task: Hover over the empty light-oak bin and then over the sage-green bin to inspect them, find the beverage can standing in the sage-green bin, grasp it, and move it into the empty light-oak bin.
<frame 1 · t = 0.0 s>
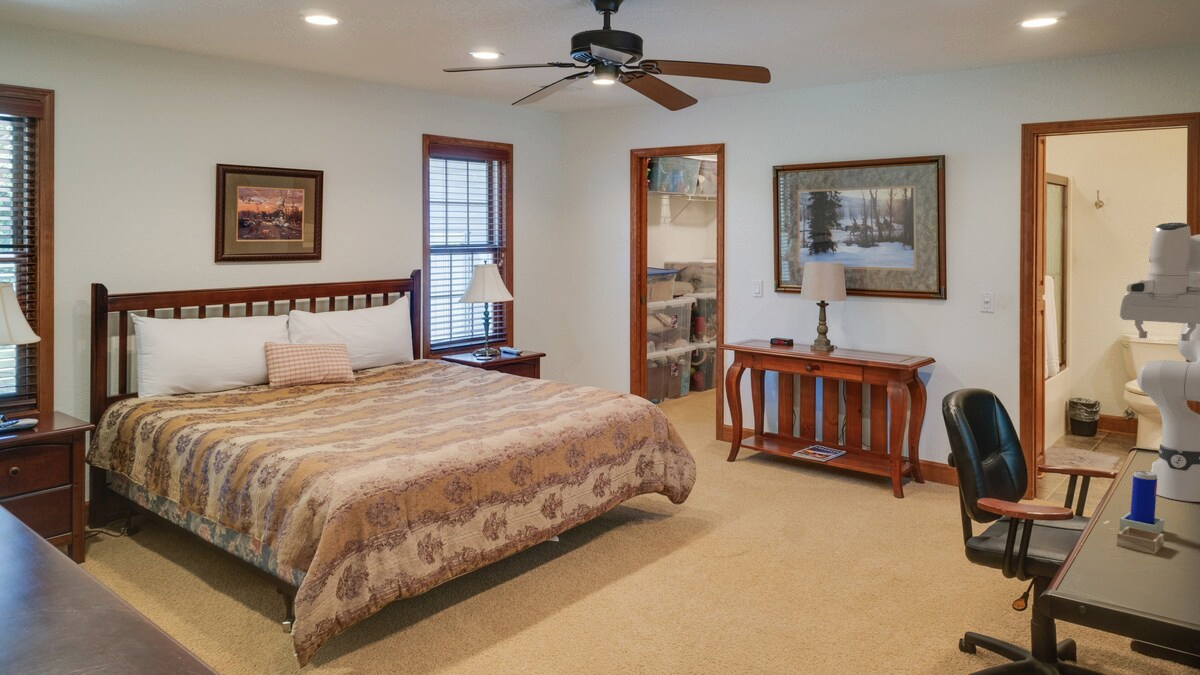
hand: (1163, 339, 218), 48 cm above the table, fingers open, 8 cm apart
bin oak: (1139, 545, 204), on the table
beverage can: (1141, 531, 215), resting in bin sage
bin sage: (1141, 530, 215), on the table
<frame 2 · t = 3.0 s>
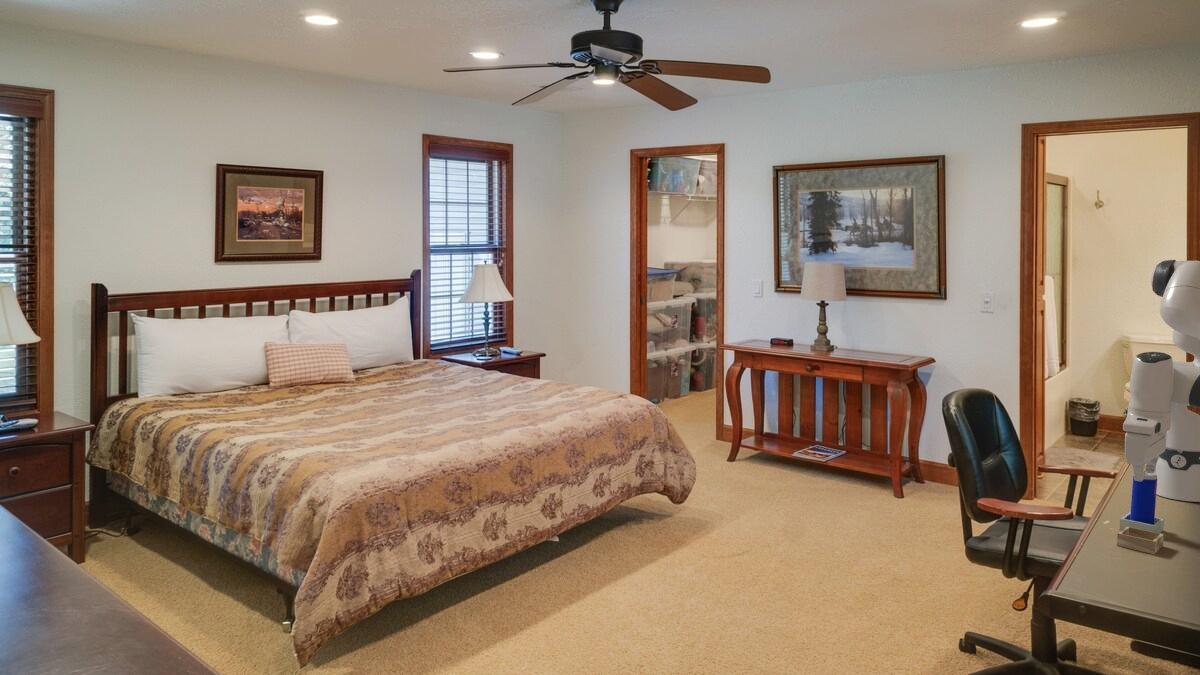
hand: (1144, 476, 203), 17 cm above the table, fingers open, 8 cm apart
nothing on the table moved.
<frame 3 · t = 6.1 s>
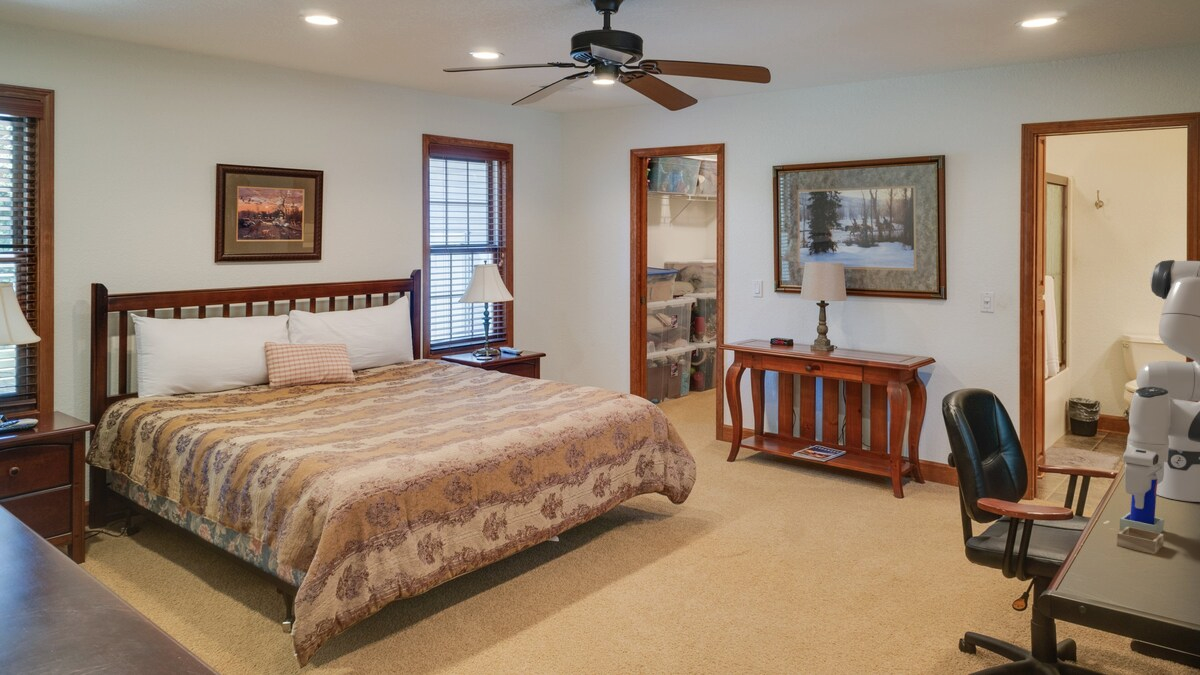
hand: (1143, 505, 214), 7 cm above the table, fingers closed on beverage can, 5 cm apart
beverage can: (1141, 531, 215), resting in bin sage, touching gripper
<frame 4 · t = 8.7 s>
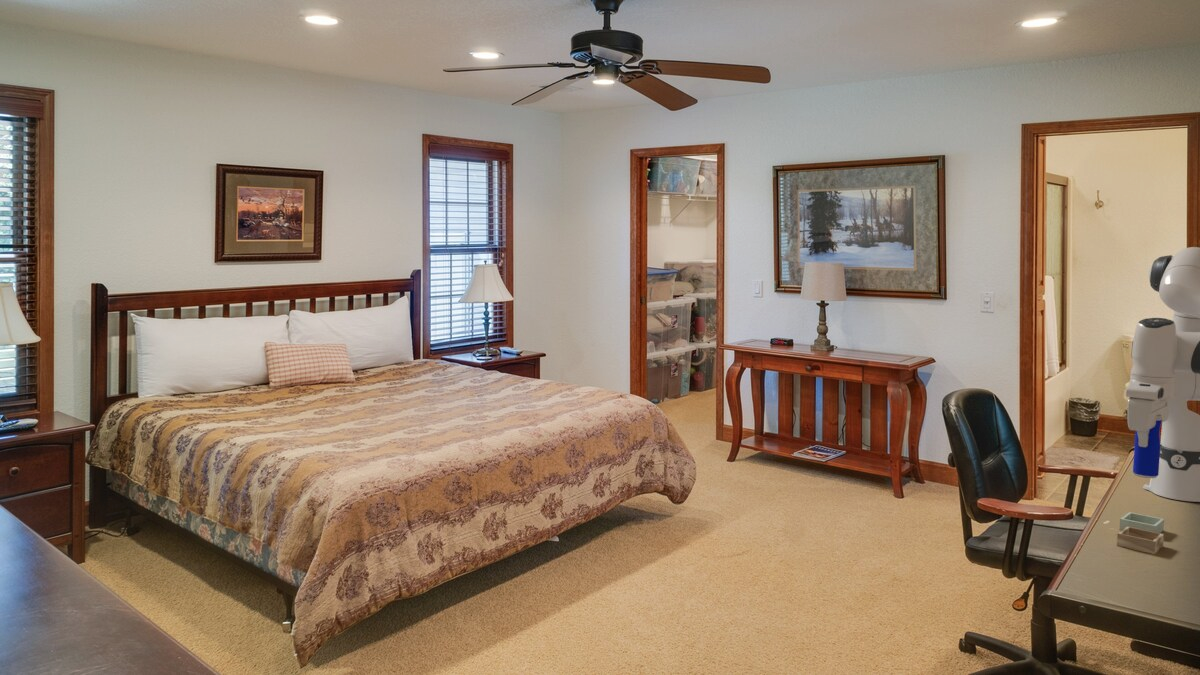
hand: (1147, 444, 201), 25 cm above the table, fingers closed on beverage can, 5 cm apart
beverage can: (1145, 476, 202), point 17 cm above the table, touching gripper
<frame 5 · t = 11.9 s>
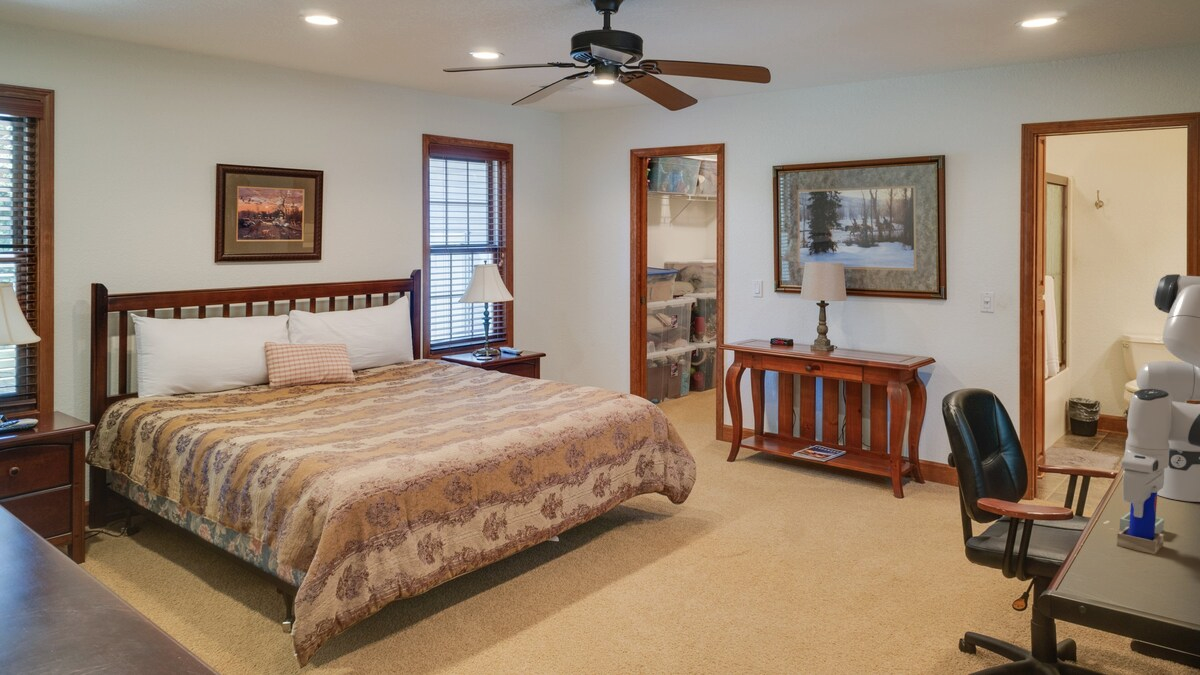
hand: (1142, 513, 203), 8 cm above the table, fingers closed on beverage can, 5 cm apart
beverage can: (1140, 546, 204), resting in bin oak, touching gripper
when the fingers open (8 cm above the table, at t = 12.3 s): beverage can stays where it is, resting in bin oak.
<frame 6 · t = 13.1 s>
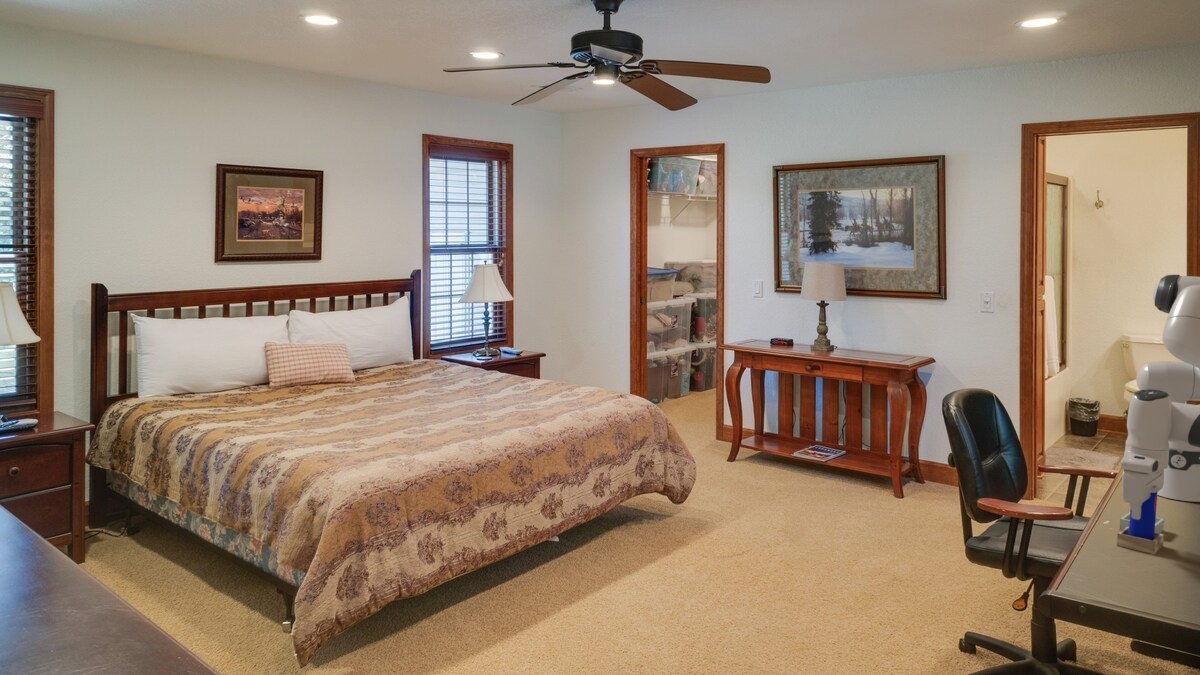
hand: (1142, 514, 203), 8 cm above the table, fingers open, 8 cm apart
beverage can: (1140, 546, 204), resting in bin oak
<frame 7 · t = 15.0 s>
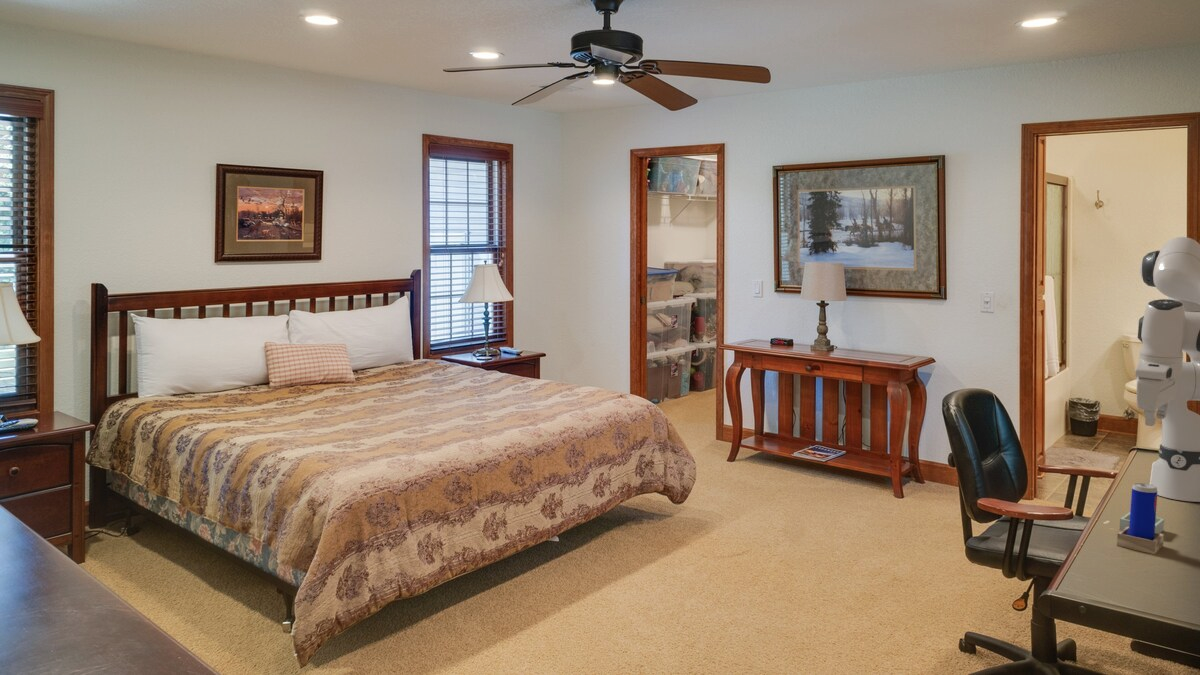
hand: (1155, 421, 208), 29 cm above the table, fingers open, 8 cm apart
nothing on the table moved.
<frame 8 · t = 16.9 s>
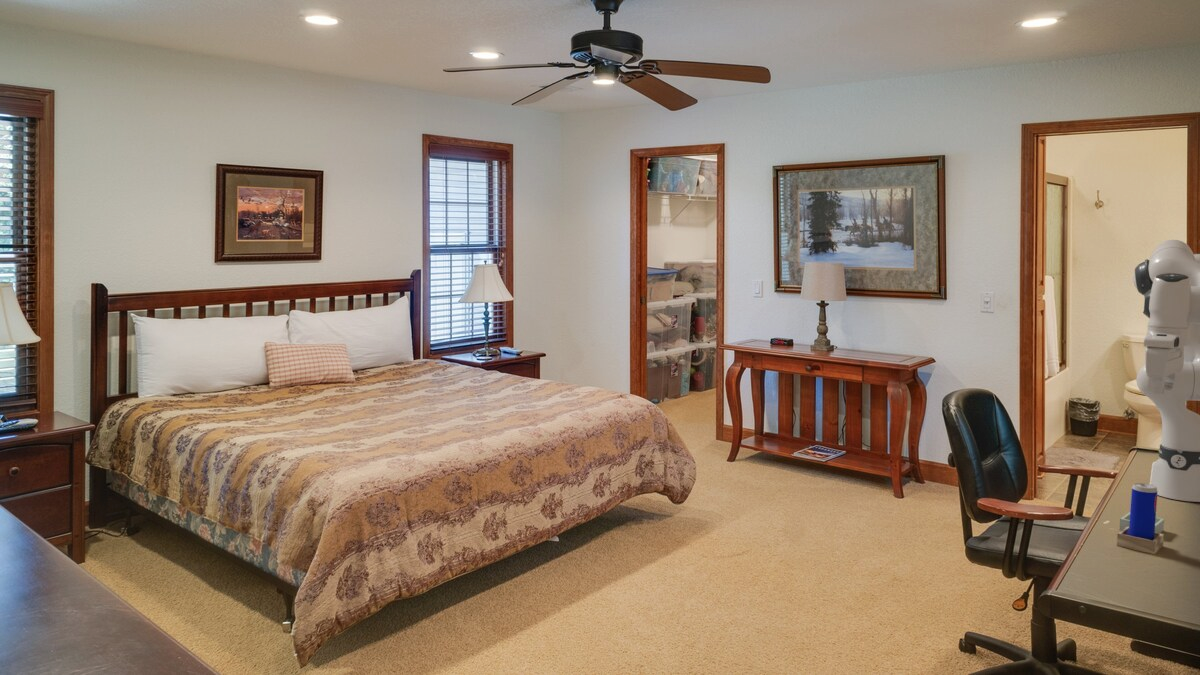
hand: (1163, 391, 215), 35 cm above the table, fingers open, 8 cm apart
nothing on the table moved.
at the end: beverage can 0.1 cm off-centre on the bin oak, point 0.0 cm above the bin oak's base; beverage can tilted 0°; the gripper is holding nothing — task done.
